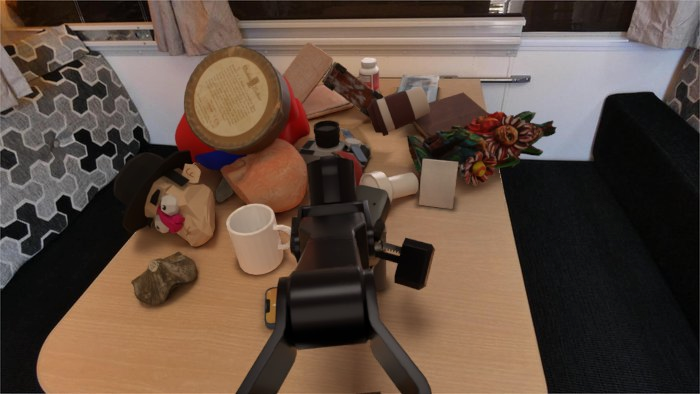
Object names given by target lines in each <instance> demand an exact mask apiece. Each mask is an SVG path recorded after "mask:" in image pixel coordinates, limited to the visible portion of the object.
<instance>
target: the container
mask: <svg viewBox="0 0 700 394" xmlns="http://www.w3.org/2000/svg"><path fill="white" fill-rule="evenodd" d="M282 75H283V74H282V73H281V72H280V71H279V70H278V68H277V67H275V66H274V64H273V63H272V62H271V61H270V60H269V59H268V58H267V57H266V56H265V55H263V54H262V53H261V52H259V51H257V50H256V49H252V48H249V47H246V46H238V45H234V46H233V45H232V46H231V45H229V46H227V47H222V48H220V49H218V50H215V51H214V52H211V53H210V54H209V55H207V56H205V57H204V58H203V59H202V60H201V61H200V62H199V63H198V64H197V66H195V68H194V70H193V71H192V73H191V74H190V76H189V79H188V81H187V83H186V86H185V90H184V95H183V111H185V117H186V120H187V123H188V125H189V127H190V129H191V131H192V132H193V134H194V135H195V136H196V137H197V138H198V139H199V140H200V141H201V142H202V143H204V144H205V145H207V146H208V147H211V148H213V149H216V150H219V151H224V152H227V153H230V154H235V155H248V154H253V153H256V152H259V151H261V150H263V149H265V148H266V147H268V146H269V145H270V144H272V143H273V142H274V141H275V140H276V139H277V138H278V136H279V135H280V134H281V132H282V131H283V129H284V127H285V125H286V123H287V120H288V117H289V113H290V93H289V89H288V86H287V83H286V81H285V79H284V77H283V76H282Z"/></svg>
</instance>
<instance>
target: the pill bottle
mask: <svg viewBox="0 0 700 394" xmlns="http://www.w3.org/2000/svg"><path fill="white" fill-rule="evenodd" d="M360 65H361V67H359V69H358V74H359V75H358V77H359V78H358V79H360V80H361V81H362V82H363V83H365V84H366V85H367V86H369V87H370V88H371V89H373V90H376V91H377V92H378V93H380V68H379V66H377V58H375V57H364V58H362V59H361V60H360Z"/></svg>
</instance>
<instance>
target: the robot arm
mask: <svg viewBox="0 0 700 394" xmlns="http://www.w3.org/2000/svg"><path fill="white" fill-rule="evenodd" d="M306 167H307V180H308V185H307V192H308V202H309V203H308V205H297V211H296V216H291V225H290V228H291V235H290V236H289V237H290V239H289V241H290V248H289V251H290V254H291V255H292V256H293V257H294V258H295V261H296V266H295V268H294V270H293V271H291V272H290V274H289V275H287V276H280V277H279V278H278V281H277V284H276V287H277V294H276V313H275V327H274V328H273V331H272V332H271V334H270V336H269V338H268V339H267V340H266V342H265V344H264V345H263V347H262V349H261V350H260V352H259V354H258V355H257V357H256V359H255V360H254V362H253V364H252V365H251V367H250V369H249V371H247V374H246V375H245V377H244V378H243V380H242V381H241V384H240V385H239V387H238V388H237V390H236V392H235V393H234V394H278V393H279V391H280V390H281V388H282V386H283V384H284V382H285V380H286V379H287V377H288V375H289V373H290V371H291V370H292V367H293V366H294V364H295V362H296V359H297V355H298V351H305V350H314V349H327V348H335V347H346V346H355V345H366V344H367V343H369V344H368V346H369V349H370V351H371V354H372V356H373V357H374V358H375V360H376V361H377V362H378V364H379V365H380V367H381V369H382V370H384V372H385V373H386V375H387V377H388V378H389V379H390V380H391V382H392V383H393V384H394V386H395V387H396V389H397V390H398V392H399V393H400V394H433V393H432V388H431V385H430V383H429V381H428V379H427V377H426V376H425V375H424V373H423V372H422V371H421V369H420V368H419V367H418V366H417V365H416V363H415V362H414V360H413V359H412V358H411V357H410V355H409V354H408V353H407V352H406V350H405V349H404V348H403V347H402V345H401V344H400V343H399V341H398V340H397V339H396V338H395V336H394V335H393V334H392V333H391V331H390V330H389V329H388V327H387V326H386V325H385V324H384V323H383V321H382V319H381V316H380V310H379V303H378V302H379V301H378V295H377V291H376V287H375V280H374V274H373V271H374V267H375V265H376V264H377V263H378V262H379V260H380V259H383V260H386V262H390V263H395V264H397V265H396V268H395V272H394V275H393V276H394V278H393V279H394V280H393V283H394V284H397V285H400V286H403V287H407V288H410V289H413V290H416V291H420V290H422V289H425V288H426V287H427V286H428V285H427V284H428V280H429V275H430V272H431V267H432V264H433V260H434V257H435V251H436V248H435V246H434V245H433V244H432V243H429V242H425V241H422V240H417V239H413V238H410V237H406V236H405V237H404V239H403V241H402V244H401V245H397V244H394V243H389V242H387V241H386V242H382V241H385V237H386V238H387V231H386V232H385V231H384V227H385V225H386V222H387V218H388V216H389V213H390V211H391V209H392V202H390V199H389V196H388V193H387V191H386V190H384V189H379V188H375V187H370V186H366V185H359V186H356V180H355V170H354V161H353V160H350V159H347V158H337V155H333V156H321V157H320V159H319V160H315V161H312V162H310V163H308V164H306ZM384 248H385V250H386V252H384V251H382V249H384ZM391 252H392V253H391ZM394 253H395V254H394ZM398 254H399V255H398ZM357 394H382V392H381V390H380V391H369V392H359V393H357Z"/></svg>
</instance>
